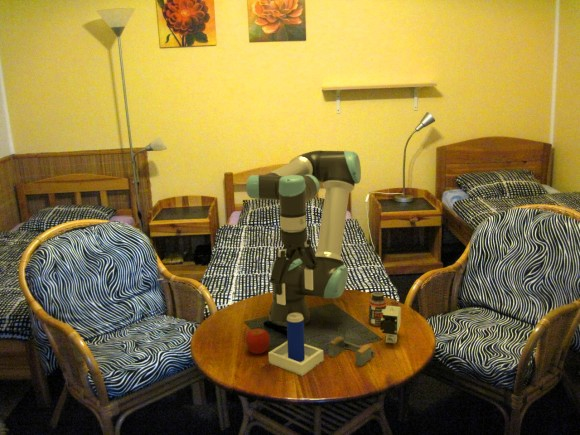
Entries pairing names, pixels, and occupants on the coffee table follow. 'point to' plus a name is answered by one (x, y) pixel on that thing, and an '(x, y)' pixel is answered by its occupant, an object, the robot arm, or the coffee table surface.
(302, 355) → the beverage can
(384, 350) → the coffee table surface
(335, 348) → the fuse holder
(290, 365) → the tray
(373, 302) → the supplement bottle
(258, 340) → the apple
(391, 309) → the pneumatic valve
